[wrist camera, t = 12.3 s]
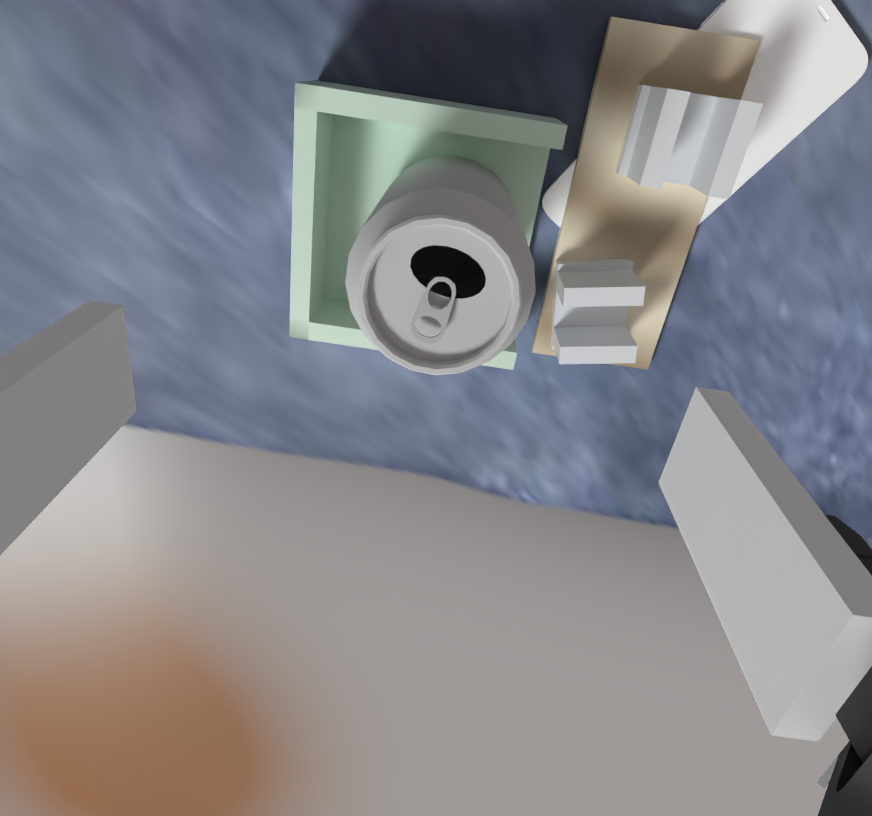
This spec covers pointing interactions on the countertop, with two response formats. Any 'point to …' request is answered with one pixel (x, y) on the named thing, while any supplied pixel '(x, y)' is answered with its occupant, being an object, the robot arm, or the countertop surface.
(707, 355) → the countertop surface
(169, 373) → the countertop surface
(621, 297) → the clip
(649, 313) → the board
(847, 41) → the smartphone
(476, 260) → the can
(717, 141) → the clip
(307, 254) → the green open box
